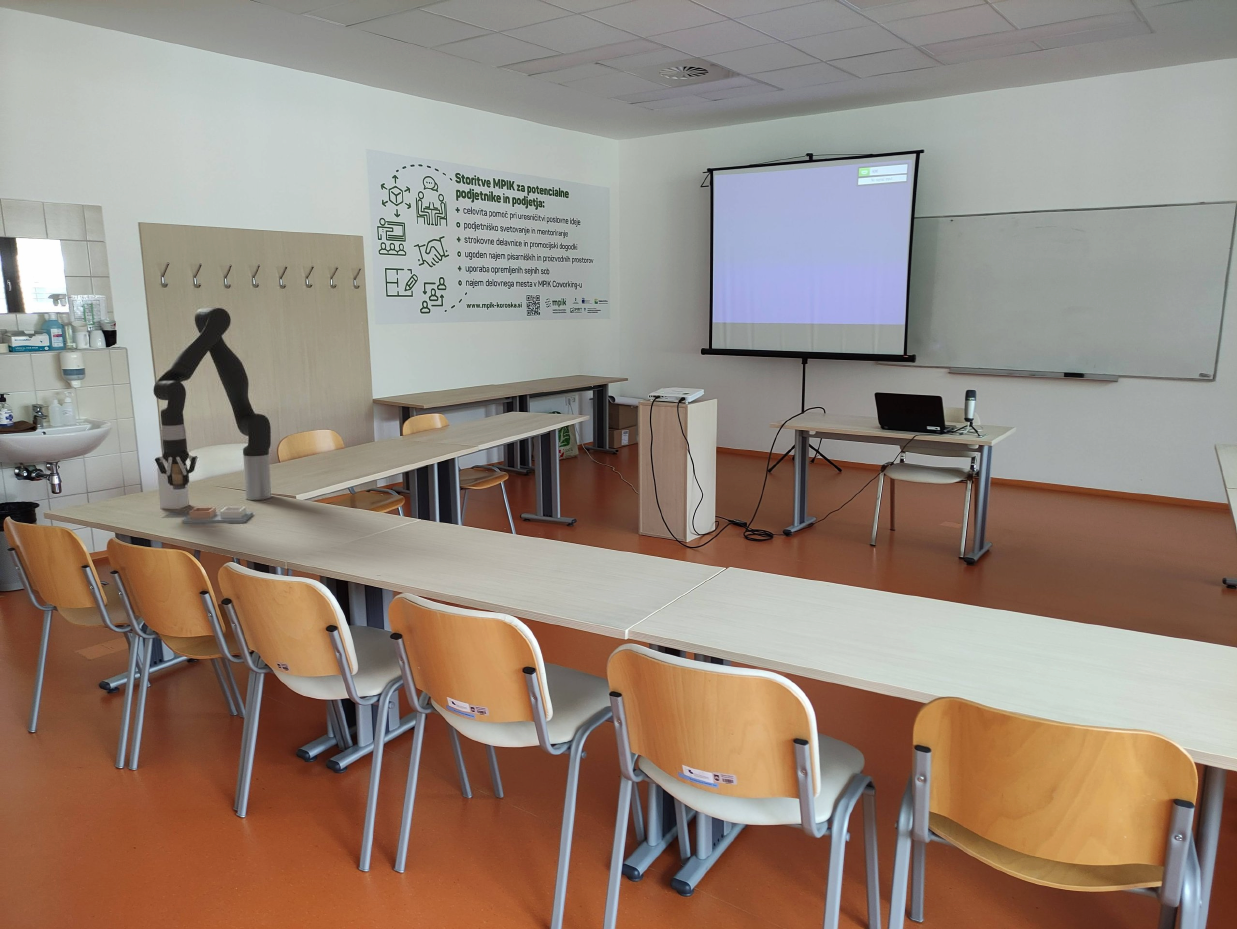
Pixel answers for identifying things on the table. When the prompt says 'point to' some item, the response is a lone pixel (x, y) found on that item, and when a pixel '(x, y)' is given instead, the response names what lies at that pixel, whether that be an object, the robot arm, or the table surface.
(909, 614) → the table surface
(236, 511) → the double pet bowl
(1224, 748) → the table surface
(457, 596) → the table surface
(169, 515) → the feeder mat
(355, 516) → the table surface
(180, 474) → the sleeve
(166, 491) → the milk carton
